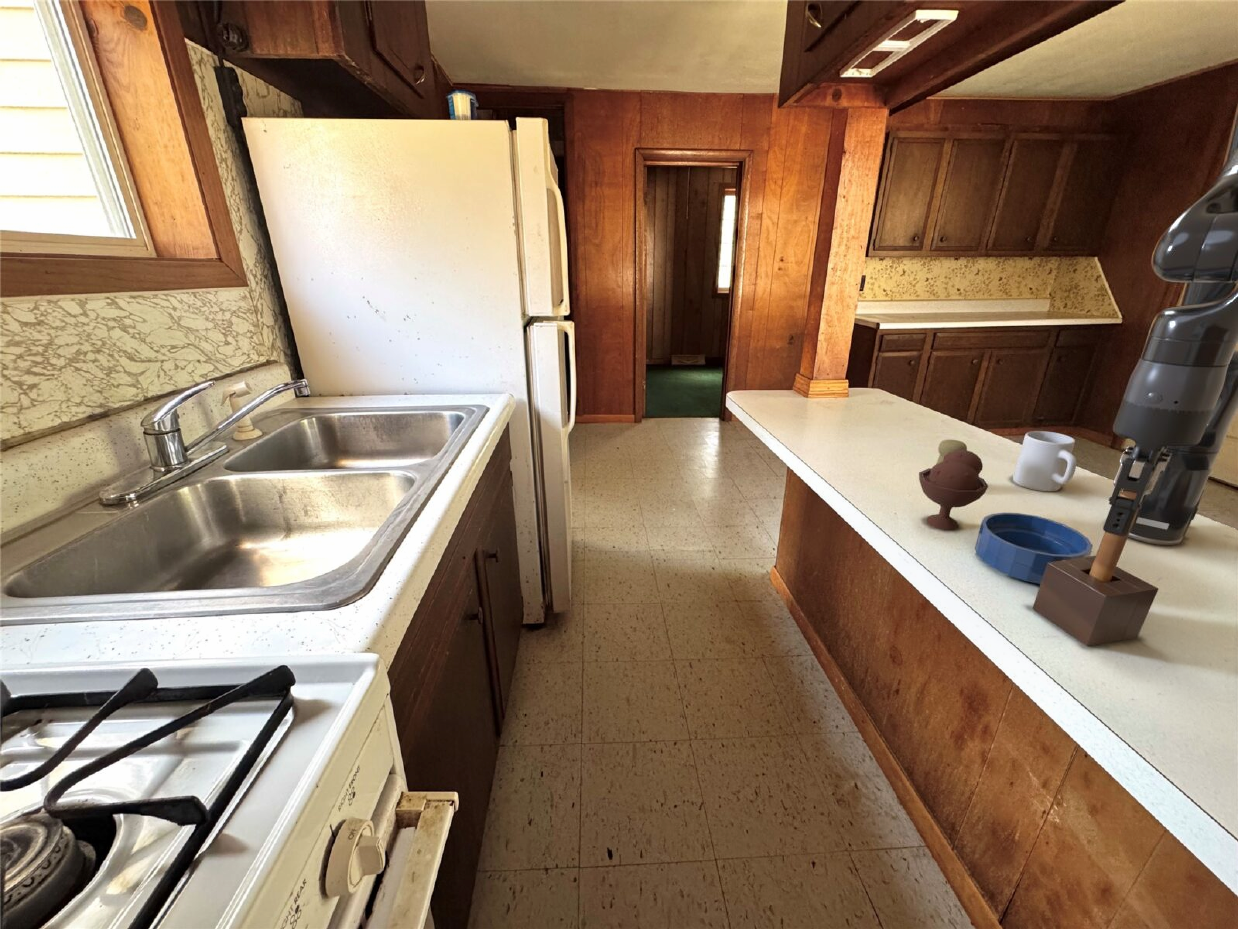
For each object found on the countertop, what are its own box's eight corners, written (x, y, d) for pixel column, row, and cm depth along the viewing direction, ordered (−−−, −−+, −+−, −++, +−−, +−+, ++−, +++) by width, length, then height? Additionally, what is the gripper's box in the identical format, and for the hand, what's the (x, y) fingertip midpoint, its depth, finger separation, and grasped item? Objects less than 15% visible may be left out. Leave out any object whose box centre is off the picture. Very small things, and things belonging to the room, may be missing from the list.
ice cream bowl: (915, 505, 106) (930, 437, 100) (980, 521, 99) (999, 448, 93) (903, 526, 98) (918, 454, 93) (972, 544, 92) (992, 467, 86)
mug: (1003, 476, 118) (1015, 431, 113) (1040, 475, 117) (1054, 430, 113) (1043, 499, 106) (1058, 450, 102) (1084, 498, 106) (1101, 449, 102)
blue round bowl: (1024, 538, 93) (1032, 508, 91) (1104, 583, 80) (1117, 550, 78) (954, 547, 91) (961, 517, 89) (1025, 595, 78) (1036, 561, 76)
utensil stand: (1078, 601, 76) (1095, 555, 73) (1137, 637, 69) (1159, 588, 66) (1032, 608, 75) (1047, 562, 72) (1086, 646, 68) (1106, 596, 65)
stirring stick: (1081, 616, 73) (1129, 490, 66) (1097, 626, 71) (1148, 497, 64) (1068, 618, 73) (1114, 492, 65) (1083, 628, 71) (1133, 499, 63)
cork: (930, 491, 112) (940, 444, 108) (925, 480, 117) (935, 435, 113) (962, 495, 110) (974, 447, 105) (956, 484, 115) (967, 438, 111)
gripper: (1208, 419, 53) (1151, 555, 59) (1220, 393, 61) (1169, 515, 67) (1112, 405, 58) (1069, 531, 64) (1135, 384, 67) (1095, 497, 73)
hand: (1120, 522), depth 66 cm, fingers open, 7 cm apart
